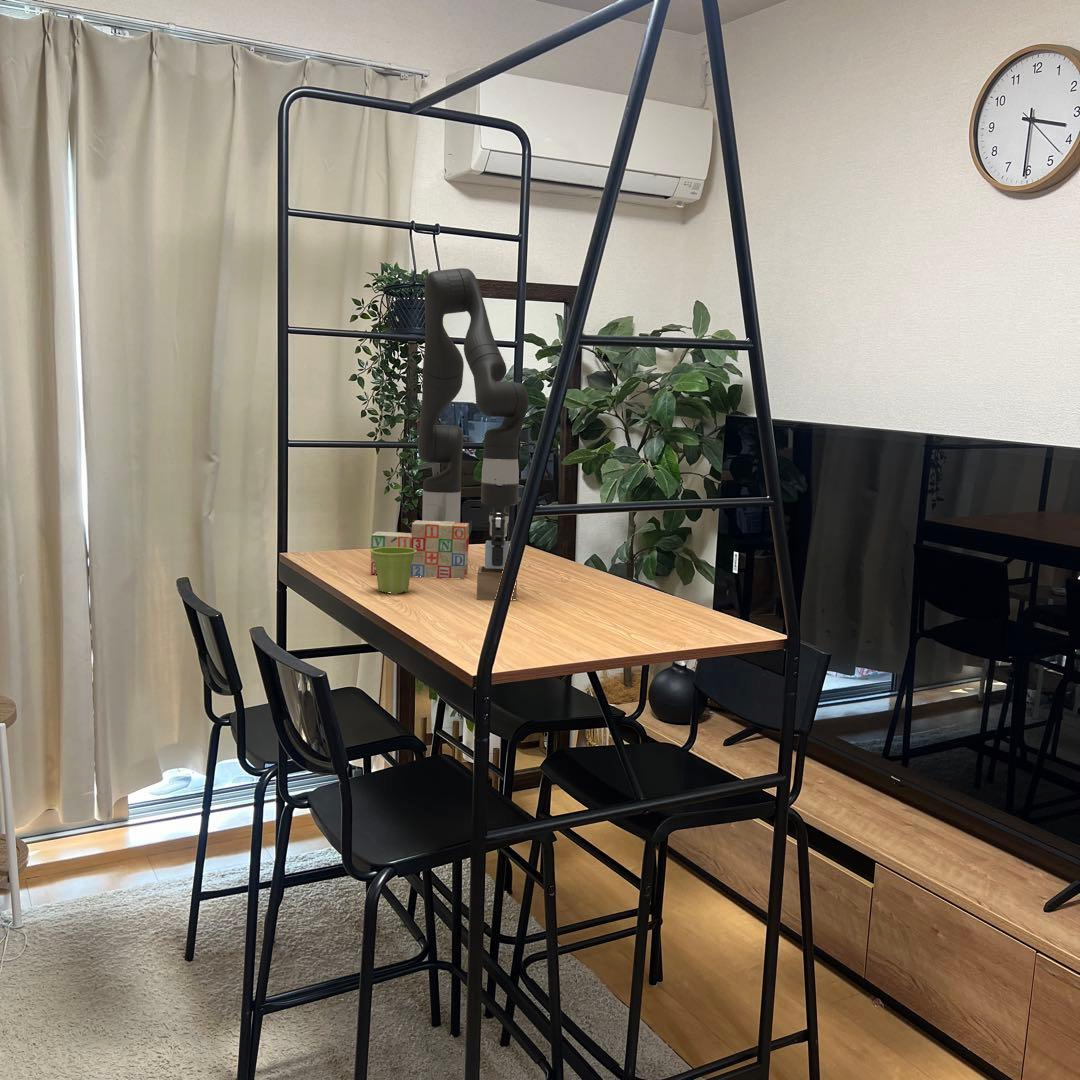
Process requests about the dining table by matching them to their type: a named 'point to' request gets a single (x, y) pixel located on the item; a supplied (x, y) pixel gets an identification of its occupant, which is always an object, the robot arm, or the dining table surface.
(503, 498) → the robot arm
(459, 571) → the stack of blocks
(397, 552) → the plant pot
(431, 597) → the dining table surface
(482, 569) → the walnut base
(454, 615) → the dining table surface
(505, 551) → the bluegrey cube
